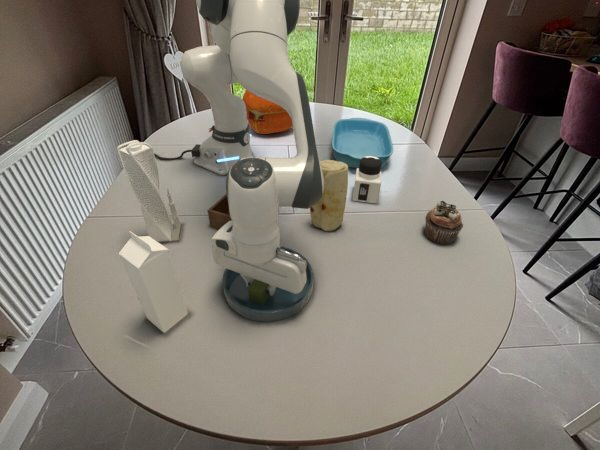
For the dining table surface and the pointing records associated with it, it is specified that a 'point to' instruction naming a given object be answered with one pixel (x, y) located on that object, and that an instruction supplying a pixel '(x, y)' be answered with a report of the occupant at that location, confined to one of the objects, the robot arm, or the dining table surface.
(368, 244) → the dining table surface
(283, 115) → the pumpkin
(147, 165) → the skyscraper
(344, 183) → the food model
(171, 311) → the milk
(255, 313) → the bowl
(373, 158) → the container
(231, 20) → the robot arm
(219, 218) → the holder
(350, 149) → the casserole dish
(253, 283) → the green cube
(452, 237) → the cupcake
